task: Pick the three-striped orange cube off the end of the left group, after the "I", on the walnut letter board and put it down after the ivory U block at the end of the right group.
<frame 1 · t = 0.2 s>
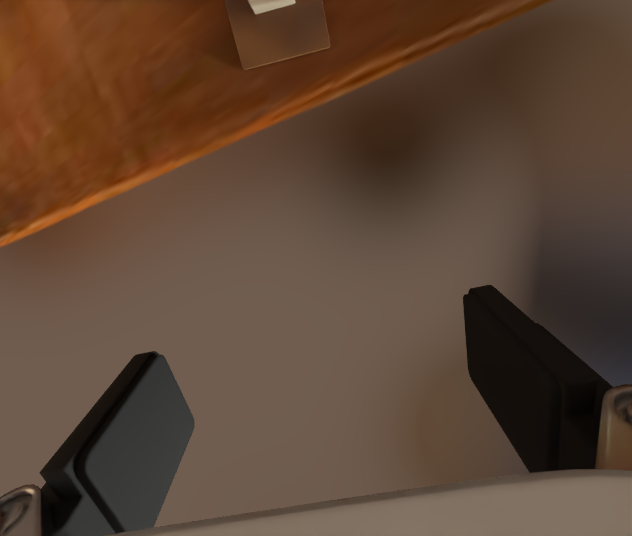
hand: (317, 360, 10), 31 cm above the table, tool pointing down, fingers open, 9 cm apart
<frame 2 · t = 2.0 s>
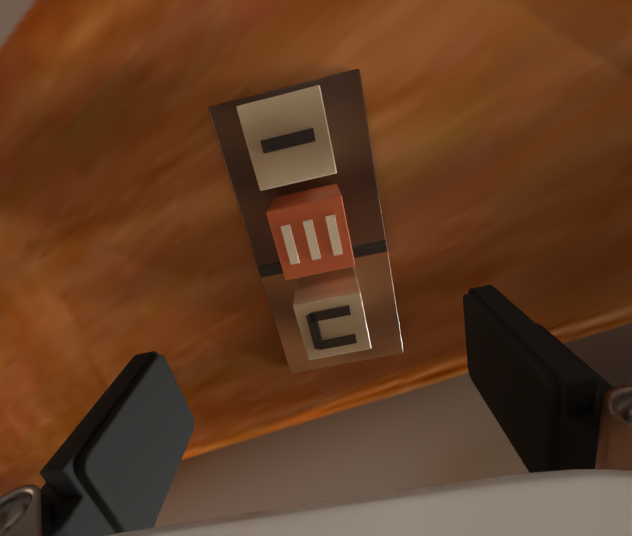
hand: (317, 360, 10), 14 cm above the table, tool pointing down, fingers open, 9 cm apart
tile U: (330, 295, 24), point 1 cm above the table, touching letter board
tile I: (293, 139, 20), point 1 cm above the table, touching letter board
three-striped orange cube: (312, 220, 22), point 1 cm above the table, touching letter board
letter board: (319, 244, 23), on the table
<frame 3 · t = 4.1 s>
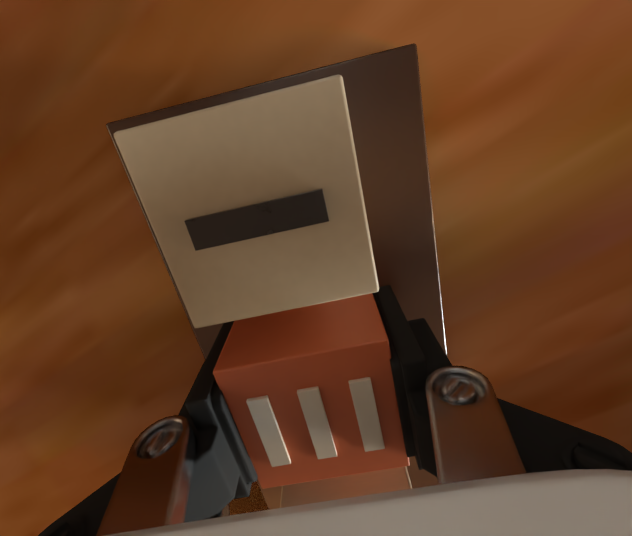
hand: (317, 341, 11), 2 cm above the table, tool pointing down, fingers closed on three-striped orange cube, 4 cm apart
tile U: (346, 436, 14), point 1 cm above the table, touching letter board
tile I: (280, 185, 10), point 1 cm above the table, touching letter board
three-striped orange cube: (317, 325, 12), point 1 cm above the table, touching gripper, letter board
letter board: (327, 357, 13), on the table
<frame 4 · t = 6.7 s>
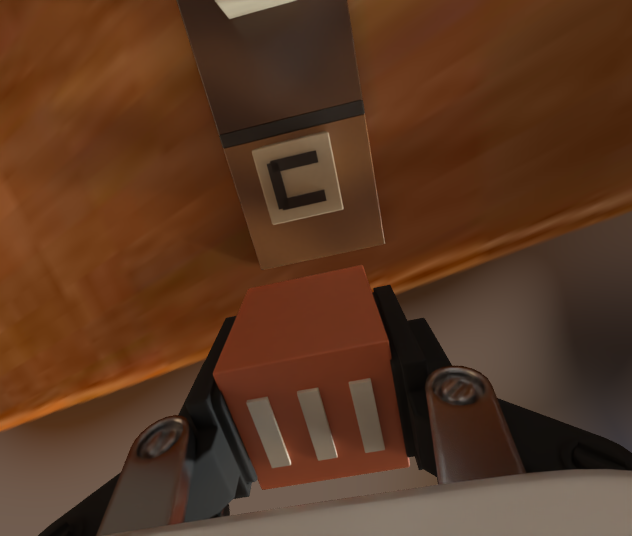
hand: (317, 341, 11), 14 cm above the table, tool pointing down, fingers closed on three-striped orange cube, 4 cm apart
tile U: (301, 170, 22), point 1 cm above the table, touching letter board
three-striped orange cube: (317, 325, 12), point 13 cm above the table, touching gripper
letter board: (288, 109, 21), on the table
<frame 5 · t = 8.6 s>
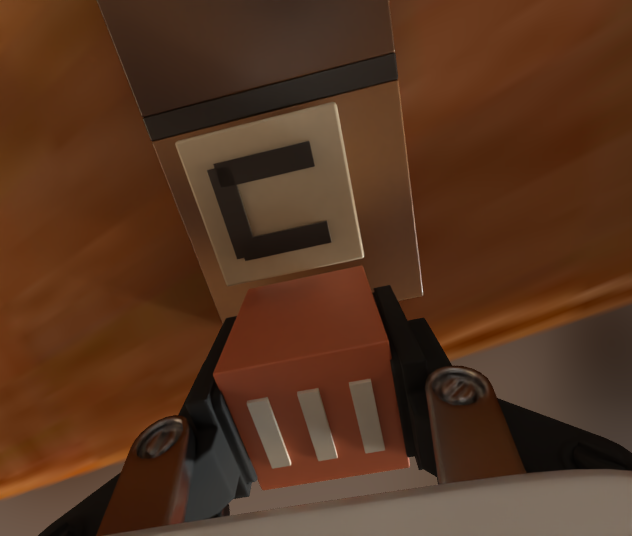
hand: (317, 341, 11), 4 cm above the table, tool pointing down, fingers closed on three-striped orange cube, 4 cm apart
tile U: (288, 179, 13), point 1 cm above the table, touching letter board
three-striped orange cube: (317, 326, 12), point 3 cm above the table, touching gripper
letter board: (262, 72, 12), on the table
when the fingers open (2 cm above the table, at t = 9.7 s): three-striped orange cube stays where it is, resting on letter board.
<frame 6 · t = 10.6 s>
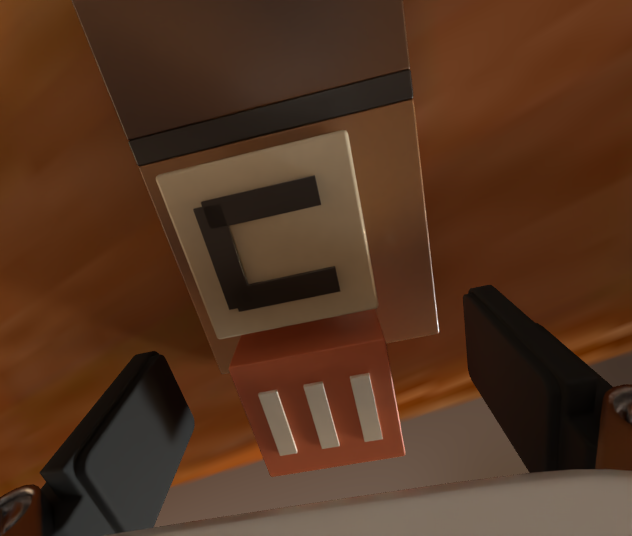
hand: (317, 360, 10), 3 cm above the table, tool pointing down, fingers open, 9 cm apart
tile U: (289, 207, 11), point 1 cm above the table, touching letter board
three-striped orange cube: (320, 328, 13), point 1 cm above the table, touching letter board
letter board: (262, 90, 11), on the table
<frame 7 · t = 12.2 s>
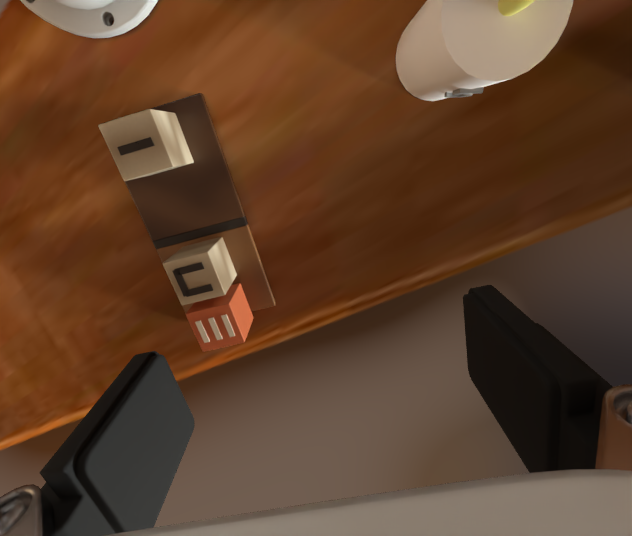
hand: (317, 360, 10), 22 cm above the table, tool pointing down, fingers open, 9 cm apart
tile U: (210, 261, 32), point 1 cm above the table, touching letter board
tile I: (162, 144, 28), point 1 cm above the table, touching letter board
three-striped orange cube: (228, 305, 34), point 1 cm above the table, touching letter board
letter board: (197, 222, 31), on the table
candle: (435, 57, 26), on the table
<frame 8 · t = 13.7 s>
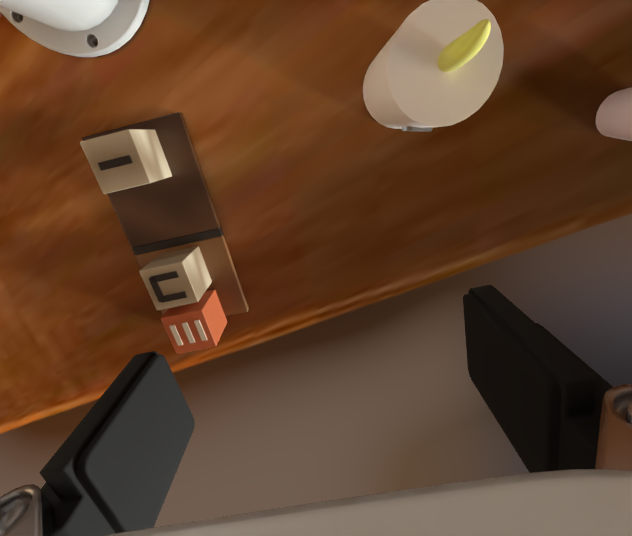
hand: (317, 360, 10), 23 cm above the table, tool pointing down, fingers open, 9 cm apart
tile U: (186, 268, 34), point 1 cm above the table, touching letter board
tile I: (143, 158, 30), point 1 cm above the table, touching letter board
three-striped orange cube: (203, 309, 35), point 1 cm above the table, touching letter board
smoothie: (616, 113, 29), on the table
letter board: (175, 231, 33), on the table
candle: (399, 89, 28), on the table
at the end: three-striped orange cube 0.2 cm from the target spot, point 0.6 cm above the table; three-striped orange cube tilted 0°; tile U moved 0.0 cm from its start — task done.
